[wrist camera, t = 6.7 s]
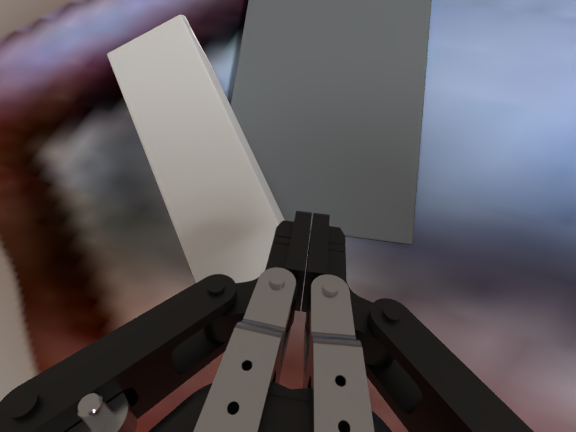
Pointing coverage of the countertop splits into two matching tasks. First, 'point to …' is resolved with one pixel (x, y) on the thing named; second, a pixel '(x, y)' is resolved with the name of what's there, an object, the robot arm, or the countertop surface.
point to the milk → (197, 153)
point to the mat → (337, 108)
